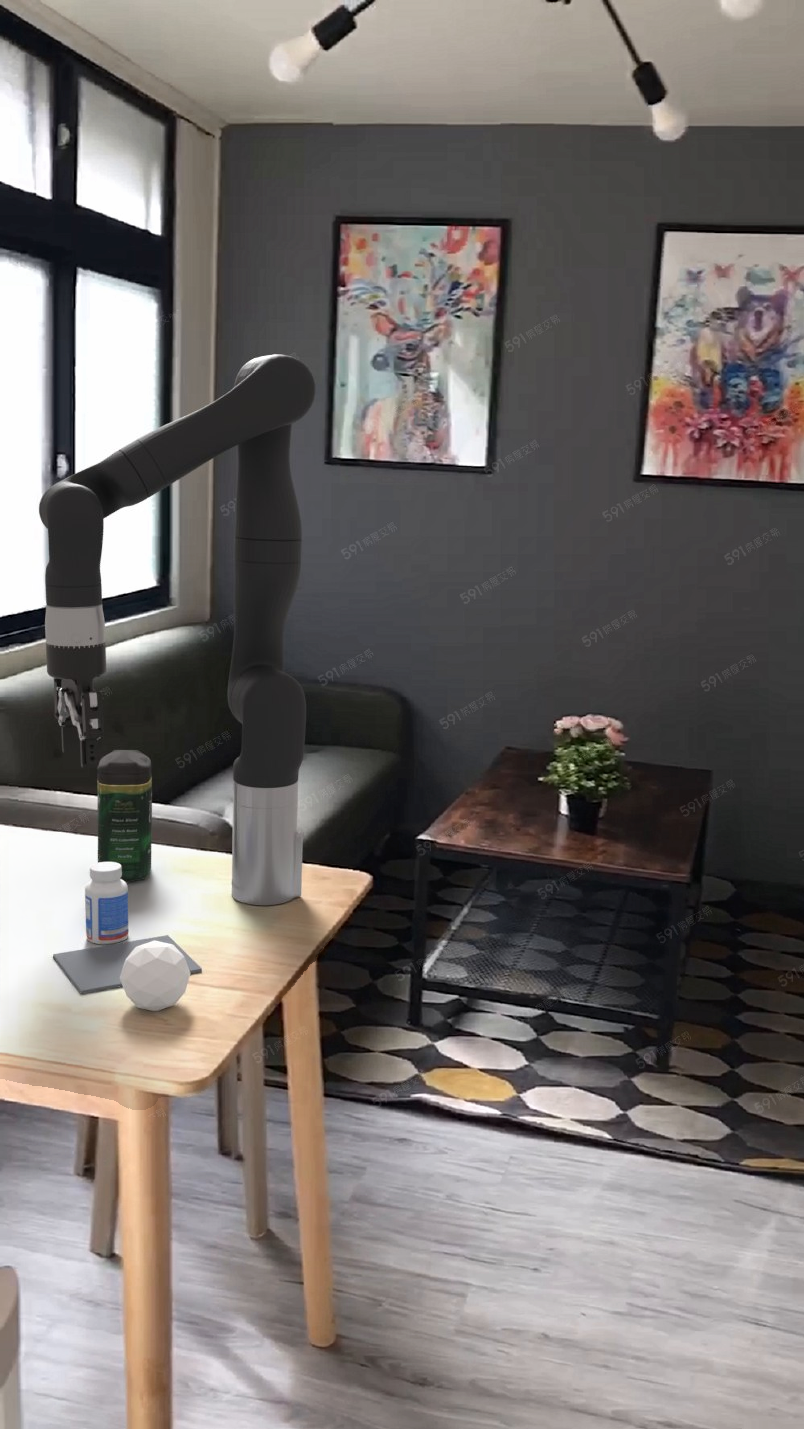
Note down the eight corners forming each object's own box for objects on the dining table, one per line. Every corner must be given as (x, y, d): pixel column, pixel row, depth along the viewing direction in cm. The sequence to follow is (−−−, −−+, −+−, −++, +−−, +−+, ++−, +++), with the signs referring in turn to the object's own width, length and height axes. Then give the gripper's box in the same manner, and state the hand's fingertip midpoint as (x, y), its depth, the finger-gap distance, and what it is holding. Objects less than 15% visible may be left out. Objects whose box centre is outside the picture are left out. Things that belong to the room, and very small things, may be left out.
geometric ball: (136, 1029, 145) (97, 971, 145) (190, 988, 150) (152, 932, 149) (157, 1021, 139) (117, 961, 139) (213, 979, 143) (174, 921, 143)
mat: (167, 937, 165) (167, 935, 165) (201, 971, 155) (201, 968, 155) (53, 957, 157) (53, 954, 157) (81, 993, 147) (81, 990, 147)
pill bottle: (136, 933, 166) (136, 863, 164) (114, 948, 161) (113, 875, 159) (100, 927, 168) (99, 857, 166) (77, 941, 163) (76, 869, 161)
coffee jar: (150, 884, 185) (150, 761, 181) (95, 885, 183) (93, 761, 180) (153, 863, 194) (153, 745, 190) (101, 863, 193) (99, 745, 189)
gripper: (121, 645, 159) (125, 769, 163) (87, 629, 171) (92, 745, 175) (62, 649, 155) (67, 776, 159) (32, 633, 167) (37, 751, 171)
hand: (80, 760), depth 167 cm, fingers open, 8 cm apart
